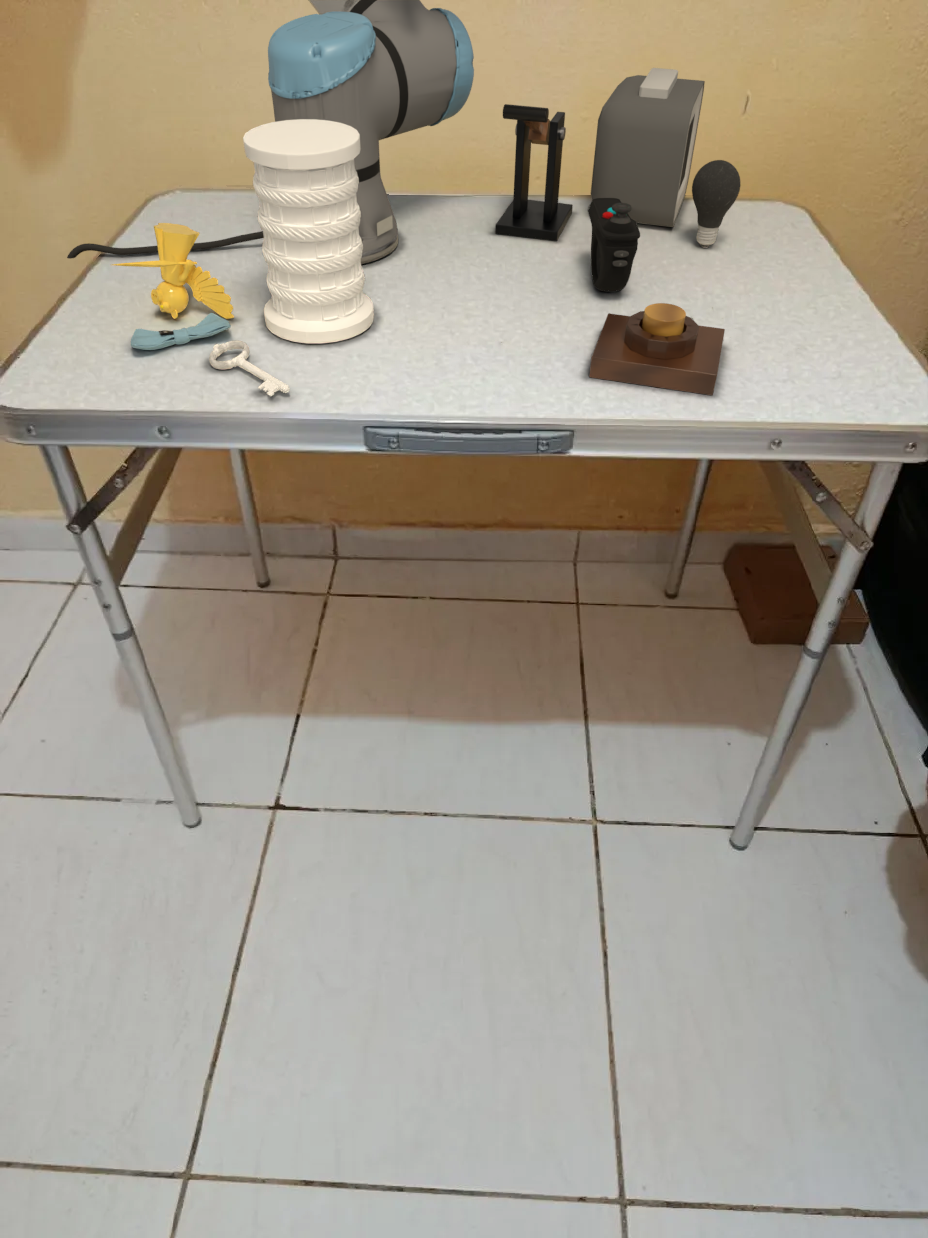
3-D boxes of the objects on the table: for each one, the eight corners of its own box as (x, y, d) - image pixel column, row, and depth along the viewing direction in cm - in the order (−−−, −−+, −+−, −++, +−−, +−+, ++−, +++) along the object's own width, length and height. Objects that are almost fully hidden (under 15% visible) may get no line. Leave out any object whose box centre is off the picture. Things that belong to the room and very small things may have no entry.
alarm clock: (670, 234, 117) (693, 98, 107) (583, 223, 120) (597, 89, 109) (686, 192, 129) (708, 65, 118) (606, 183, 131) (620, 58, 120)
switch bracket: (556, 241, 115) (565, 129, 106) (495, 233, 117) (499, 123, 108) (572, 213, 122) (581, 106, 113) (513, 206, 124) (518, 101, 115)
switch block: (589, 377, 90) (593, 339, 87) (605, 332, 97) (610, 296, 94) (712, 395, 88) (721, 357, 85) (720, 348, 95) (728, 311, 92)
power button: (639, 335, 89) (641, 317, 88) (644, 317, 92) (647, 300, 91) (680, 340, 88) (683, 323, 87) (684, 322, 91) (688, 305, 90)
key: (197, 353, 91) (231, 332, 93) (200, 361, 92) (234, 340, 93) (269, 397, 85) (304, 374, 87) (272, 405, 86) (306, 382, 87)
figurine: (130, 244, 86) (131, 338, 90) (238, 244, 94) (233, 329, 98) (66, 212, 92) (69, 301, 96) (172, 214, 100) (171, 296, 104)
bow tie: (130, 345, 95) (136, 360, 91) (125, 330, 94) (131, 344, 90) (226, 324, 98) (236, 338, 94) (222, 309, 97) (232, 322, 93)
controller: (595, 308, 101) (606, 215, 95) (579, 263, 110) (588, 175, 104) (634, 307, 102) (647, 214, 95) (614, 262, 111) (625, 175, 104)
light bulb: (725, 238, 116) (742, 154, 110) (729, 256, 112) (748, 169, 106) (680, 236, 117) (694, 152, 110) (683, 254, 113) (698, 167, 106)
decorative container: (383, 298, 102) (374, 120, 90) (362, 347, 94) (349, 158, 81) (281, 292, 103) (258, 115, 91) (251, 339, 95) (222, 151, 82)
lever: (544, 125, 102) (548, 101, 101) (501, 121, 103) (504, 97, 102) (560, 146, 113) (563, 124, 112) (521, 142, 114) (523, 120, 113)
